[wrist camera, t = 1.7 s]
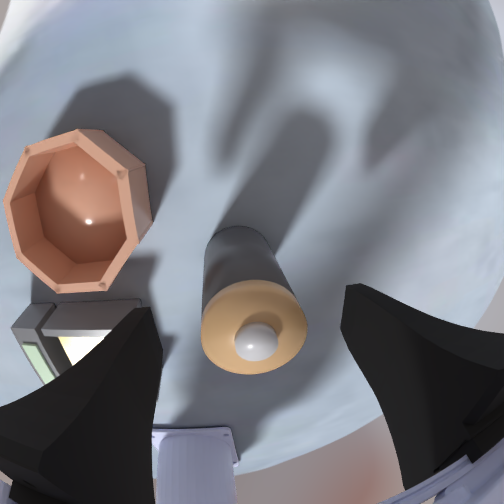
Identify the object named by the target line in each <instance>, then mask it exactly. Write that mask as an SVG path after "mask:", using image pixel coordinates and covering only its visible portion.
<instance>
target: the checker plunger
mask: <svg viewBox="0 0 504 504" xmlns="http://www.w3.org/2000/svg"><path fill="white" fill-rule="evenodd" d="M58 338H59V340H60V342H61V344H62V346H63V348H64V350H65V352H66V353H67V355H68V357H69V359H70V361H71V363H72V365H74V364H75V363H77V362H78V361H79V360H80V359H81V358H83V357H84V356H85V355H86V354H87V353H88V352H89V351H90V350H91V349H92V348H93V347H95V346H96V345H97V344H98V343H99V342H100V341H101V340H102V339H103V338H104V337H58Z"/></svg>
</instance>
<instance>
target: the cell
mask: <svg viewBox="0 0 504 504" xmlns="http://www.w3.org/2000/svg"><path fill="white" fill-rule="evenodd" d="M306 336H307V320H306V318H305V315H304V313H303V311H302V309H301V307H300V305H299V303H298V301H297V299H296V297H295V295H294V293H293V291H292V290H291V288H290V286H289V284H288V282H287V280H286V278H285V276H284V274H283V272H282V270H281V268H280V266H279V264H278V262H277V261H276V259H275V257H274V255H273V253H272V251H271V249H270V247H269V245H268V243H267V242H266V240H265V239H264V237H263V236H262V235H261V234H260V233H258V232H257V231H255V230H253V229H251V228H248V227H243V226H234V227H229V228H226V229H223V230H221V231H220V232H218V233H217V234H216V235H215V236H214V237H213V238H212V239H211V240H210V241H209V243H208V245H207V247H206V250H205V258H204V275H203V294H202V318H201V344H202V347H203V350H204V352H205V354H206V355H207V357H208V358H209V359H210V360H211V361H212V362H213V363H214V364H216V365H217V366H219V367H220V368H222V369H224V370H227V371H230V372H233V373H238V374H259V373H265V372H268V371H271V370H274V369H276V368H278V367H281V366H282V365H284V364H286V363H287V362H288V361H290V360H291V359H292V358H293V357H294V356H295V355H296V354H297V353H298V352H299V351H300V349H301V348H302V346H303V344H304V342H305V339H306Z"/></svg>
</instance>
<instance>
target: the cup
mask: <svg viewBox="0 0 504 504" xmlns="http://www.w3.org/2000/svg"><path fill="white" fill-rule="evenodd" d="M24 148H25V149H24V151H23V153H22V155H21V157H20V160H19V162H18V164H17V166H16V169H15V171H14V174H13V176H12V178H11V181H10V183H9V186H8V189H7V191H6V194H5V197H4V199H3V203H4V208H5V213H6V218H7V222H8V227H9V231H10V235H11V239H12V242H13V246H14V250H15V253H16V258H17V259H19V260H20V261H21V262H22V263H23V264H24V265H25V266H26V267H27V268H28V269H29V270H30V271H32V272H33V273H34V274H35V275H36V276H37V277H38V278H40V279H41V280H42V281H43V282H44V283H45V284H47V285H48V286H49V287H50V288H51V289H53V290H54V291H55V292H56V293H58V294H59V293H75V292H91V291H107V290H108V289H109V288H110V286H111V285H112V283H113V281H114V280H115V278H116V277H117V275H118V273H119V272H120V270H121V269H122V267H123V266H124V263H125V262H126V260H127V259H128V257H129V256H130V254H131V253H132V251H133V250H134V248H135V247H136V245H137V244H139V243H140V242H141V240H142V239H143V237H144V236H145V234H146V233H147V231H148V230H149V229H150V227H151V226H152V224H153V221H152V215H151V208H150V201H149V193H148V185H147V177H146V168H145V166H146V165H145V163H143V162H142V161H140V160H139V159H138V158H137V157H135V156H134V155H133V154H131V153H130V152H129V151H128V150H126V149H125V148H124V147H123V146H121V145H120V144H119V143H118V142H116V141H115V140H114V139H113V138H111V137H110V136H109V135H107V134H106V133H105V132H104V130H93V129H75V130H74V131H70V132H67V133H64V134H61V135H58V136H55V137H52V138H49V139H46V140H43V141H40V142H37V143H35V144H32V145H29V146H26V147H24Z"/></svg>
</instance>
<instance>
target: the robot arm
mask: <svg viewBox="0 0 504 504" xmlns="http://www.w3.org/2000/svg"><path fill="white" fill-rule="evenodd" d="M340 329H341V332H342V334H343V337H344V339H345V342H346V344H347V346H348V349H349V351H350V352H351V354H352V356H353V358H354V359H355V361H356V363H357V364H358V366H359V368H360V369H361V371H362V373H363V374H364V376H365V378H366V380H367V381H368V383H369V385H370V386H371V388H372V390H373V392H374V394H375V396H376V397H377V399H378V402H379V404H380V407H381V409H382V412H383V414H384V416H385V419H386V422H387V424H388V427H389V430H390V433H391V436H392V439H393V443H394V446H395V450H396V453H397V457H398V461H399V465H400V470H401V475H402V481H403V486H404V488H405V491H404V492H402V493H400V494H398V495H396V496H394V497H391V498H389V499H387V500H385V501H382V502H380V503H378V504H421V503H423V502H425V501H426V500H428V499H430V498H432V497H433V496H435V495H436V497H435V501H434V503H433V504H504V334H503V333H495V332H487V331H482V330H476V329H472V328H468V327H464V326H460V325H457V324H453V323H450V322H447V321H444V320H441V319H438V318H436V317H433V316H431V315H428V314H426V313H424V312H421V311H419V310H417V309H414V308H412V307H410V306H408V305H406V304H404V303H402V302H400V301H398V300H396V299H394V298H392V297H389V296H387V295H385V294H383V293H381V292H379V291H377V290H375V289H373V288H371V287H369V286H366V285H364V284H361V283H359V284H352V285H346V291H345V299H344V306H343V313H342V320H341V326H340ZM162 356H163V349H162V346H161V342H160V339H159V336H158V333H157V329H156V326H155V323H154V319H153V316H152V312H151V309H150V307H140V308H134V309H133V310H131V311H130V312H129V313H128V314H127V315H126V316H125V317H124V318H123V319H122V320H121V321H120V322H119V323H118V324H117V325H116V326H115V327H114V328H113V329H112V330H111V331H110V332H109V333H108V334H107V335H106V336H105V337H104V338H103V339H102V340H101V341H100V342H99V343H98V344H97V345H96V346H95V347H93V348H92V349H91V350H90V351H89V352H88V353H87V354H86V355H85V356H84V357H83V358H81V359H80V360H79V361H78V362H77V363H75V364H74V365H73V366H72V367H70V368H69V369H68V370H66V371H65V372H64V373H62V374H61V375H60V376H58V377H56V378H55V379H53V380H52V381H50V382H49V383H47V384H46V385H44V386H42V387H41V388H39V389H38V390H36V391H34V392H32V393H30V394H28V395H27V396H24V397H22V398H20V399H18V400H16V401H14V402H12V403H9V404H7V405H4V406H1V407H0V471H1V472H3V473H4V474H5V475H7V476H8V477H9V478H11V479H12V480H13V482H12V486H10V485H8V484H7V483H5V482H3V481H2V480H0V504H155V499H154V488H153V477H152V443H153V445H154V446H155V448H156V449H157V450H158V452H159V453H158V468H157V489H156V504H238V502H237V495H236V488H235V479H234V471H233V467H237V466H239V461H238V457H237V453H236V449H235V445H234V441H233V436H232V432H231V429H230V428H229V427H216V428H198V429H152V427H153V419H154V413H155V407H156V401H157V396H158V390H159V384H160V379H161V373H162Z"/></svg>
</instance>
